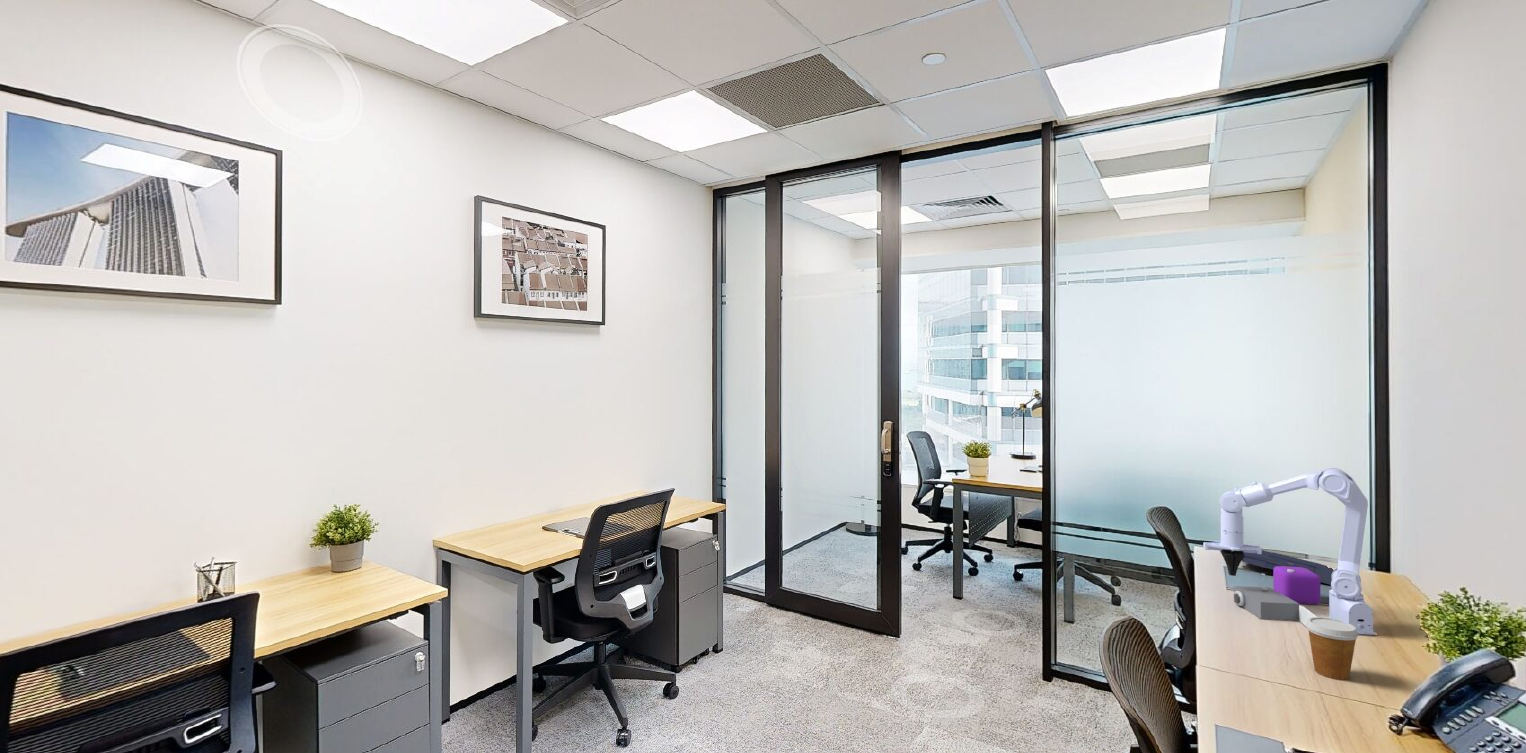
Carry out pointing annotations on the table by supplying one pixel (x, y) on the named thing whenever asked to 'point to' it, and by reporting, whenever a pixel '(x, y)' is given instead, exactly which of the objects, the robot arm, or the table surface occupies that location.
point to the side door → (1305, 615)
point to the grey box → (1266, 603)
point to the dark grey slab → (1288, 563)
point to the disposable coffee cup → (1332, 646)
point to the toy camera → (1297, 584)
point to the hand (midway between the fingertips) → (1232, 574)
